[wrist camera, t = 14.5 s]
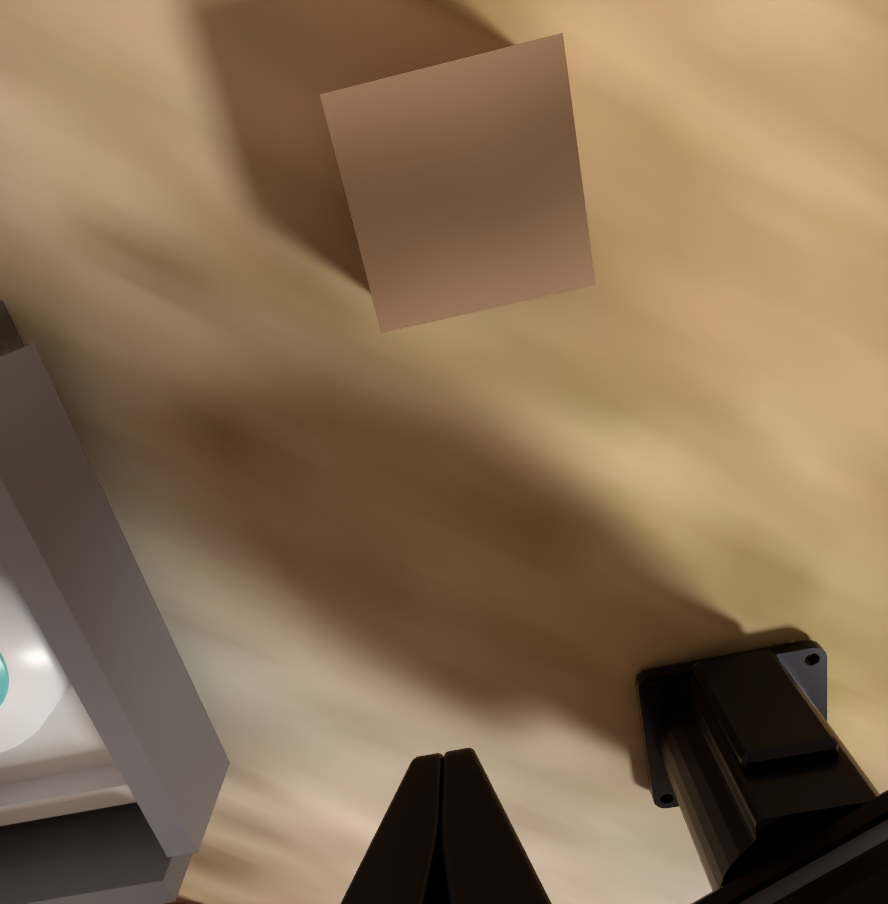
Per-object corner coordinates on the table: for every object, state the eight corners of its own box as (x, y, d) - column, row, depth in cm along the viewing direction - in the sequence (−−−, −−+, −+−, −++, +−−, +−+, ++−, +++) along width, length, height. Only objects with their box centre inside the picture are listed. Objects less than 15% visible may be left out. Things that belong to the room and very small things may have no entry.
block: (566, 266, 18) (595, 284, 15) (390, 306, 18) (381, 332, 15) (537, 63, 16) (562, 32, 13) (342, 111, 17) (319, 94, 13)
